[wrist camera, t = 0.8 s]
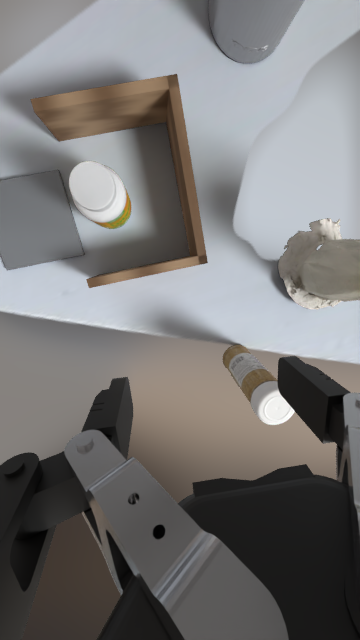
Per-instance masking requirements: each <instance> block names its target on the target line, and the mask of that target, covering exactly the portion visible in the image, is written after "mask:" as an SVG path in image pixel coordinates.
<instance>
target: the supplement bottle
mask: <svg viewBox="0 0 360 640" xmlns="http://www.w3.org/2000/svg"><path fill="white" fill-rule="evenodd" d="M69 188H70V191H71V194H72V198H73V201H74V203H75V205H76V207H77V209H78V210H79V211H80V212H81V213H82V214H83V215H84V216H85V217H86V218H88V219H90V220H91V221H93V222H95V223H97V224H98V225H100V226H102V227H105V228H109V229H116V228H119V227H121V226H123V225H124V224H125V223H126V222H127V221H128V219H129V218H130V215H131V201H130V198H129V196H128V193H127V191H126V189H125V186H124V184H123V182H122V180H121V178H120V177H119V176H118V174H117V173H116V172H115V171H113V170H112V169H111V168H109V167H107V166H105V165H102V164H99V163H97V162H94V161H84V162H81V163H79V164H77V165H76V166H75V167H74V168H73V170H72V171H71V173H70V177H69Z"/></svg>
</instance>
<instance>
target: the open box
mask: <svg viewBox="0 0 360 640" xmlns="http://www.w3.org/2000/svg"><path fill="white" fill-rule="evenodd" d="M31 102H32V106H33V109H34V112H35V113H36V114H37V116H38V117H39V118H40V119H41V120H42V122H43V123H44V124H45V125H46V126H47V128H48V129H49V130H50V131H51V132H52V134H53V135H54V136H55V137H56V138H57V140H58V141H64V140H70V139H75V138H81V137H86V136H92V135H97V134H103V133H108V132H114V131H119V130H125V129H130V128H136V127H142V126H147V125H153V124H158V123H164V122H166V125H167V130H168V136H169V141H170V147H171V152H172V158H173V163H174V169H175V175H176V180H177V186H178V191H179V197H180V202H181V208H182V213H183V219H184V224H185V230H186V235H187V241H188V246H189V252H190V256H187V257H183V258H178V259H173V260H168V261H164V262H159V263H154V264H149V265H145V266H140V267H135V268H130V269H126V270H121V271H116V272H111V273H106V274H102V275H97V276H95V277H92V278H89V279H86V280H87V283H88V286H89V288H92V287H96V286H101V285H106V284H110V283H115V282H120V281H125V280H129V279H134V278H139V277H144V276H148V275H153V274H158V273H162V272H167V271H172V270H177V269H181V268H186V267H191V266H195V265H200V264H205V263H208V262H207V256H206V250H205V244H204V238H203V231H202V225H201V219H200V213H199V207H198V200H197V194H196V188H195V182H194V176H193V170H192V163H191V157H190V151H189V145H188V139H187V132H186V126H185V120H184V114H183V108H182V102H181V95H180V89H179V83H178V77H177V74H174V75H169V76H163V77H157V78H151V79H145V80H139V81H134V82H128V83H122V84H116V85H110V86H104V87H98V88H93V89H87V90H81V91H75V92H69V93H63V94H57V95H52V96H46V97H40V98H34V99H31Z"/></svg>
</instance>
